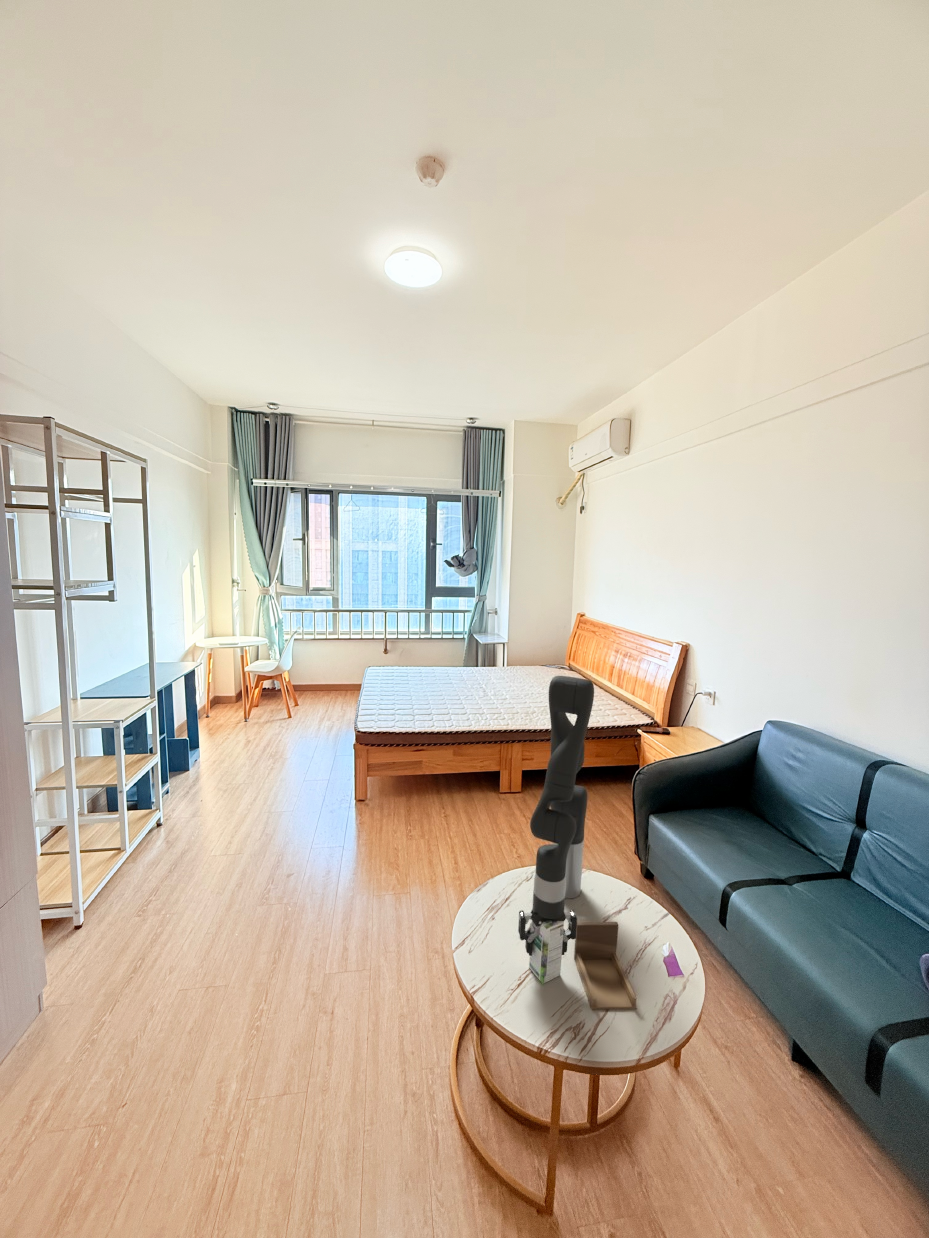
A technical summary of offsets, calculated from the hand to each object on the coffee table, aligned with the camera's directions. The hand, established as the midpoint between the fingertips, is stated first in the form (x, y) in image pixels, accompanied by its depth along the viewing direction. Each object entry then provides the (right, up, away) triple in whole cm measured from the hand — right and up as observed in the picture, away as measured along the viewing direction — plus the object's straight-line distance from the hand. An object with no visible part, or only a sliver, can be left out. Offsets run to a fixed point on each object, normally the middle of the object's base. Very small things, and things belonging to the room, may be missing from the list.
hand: (545, 952), depth 119 cm
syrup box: (0, -5, +1) cm, 5 cm away
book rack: (+13, -6, -2) cm, 15 cm away
